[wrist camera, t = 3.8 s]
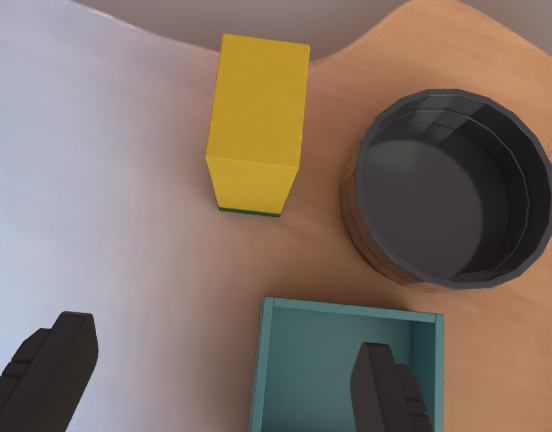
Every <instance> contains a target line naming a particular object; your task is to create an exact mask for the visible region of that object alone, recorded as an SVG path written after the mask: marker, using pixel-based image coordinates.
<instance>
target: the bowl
mask: <svg viewBox="0 0 552 432" xmlns="http://www.w3.org/2000/svg"><path fill="white" fill-rule="evenodd" d="M340 188H341V189H340V192H341V202H342V213H343V218H344V221H345V223H346V225H347V228H348V230H349V233H350V235H351V237H352V239H353V242H354V244H355V245H356V247H357V248H358V249H359V250H360V251H361V253H362V254H363V255H364V256H365V257H366V258H367V260H368V261H369V262H370V263H371V264H372V266H373V267H375V269H377V270H378V271H380V272H381V273H383V274H385V275H386V276H388V277H389V278H391V279H392V280H394V281H395V282H397V283H399V284H401V285H404V286H407V287H411V288H415V289H418V290H422V291H426V292H447V291H464V290H480V289H491V288H494V287H496V286H498V285H501V284H503V283H505V282H508V281H510V280H512V279H515V278H517V277H519V276H521V275H522V274H523V273H524V272H525V271H526V270H527V269H528V268H529V267H530V266H531V265H532V264H533V263H534V262H535V261H536V260H537V259H538V258H539V257H540V256H541V255H542V254H543V252H544V250H545V248H546V246H547V243H548V241H549V239H550V237H551V235H552V164H551V162H550V160H549V159H548V157H547V155H546V153H545V151H544V149H543V147H542V145H541V144H540V142H539V140H538V138H537V137H536V135H535V134H534V133H533V132H532V131H531V130H530V129H529V128H528V127H527V126H526V125H525V124H524V123H523V122H522V121H521V120H520V119H519V118H518V117H517V115H516V114H514V113H513V112H511V111H510V110H508V109H506V108H505V107H503V106H501V105H500V104H498V103H496V102H495V101H493V100H491V99H490V98H487V97H485V96H481V95H478V94H474V93H471V92H467V91H464V90H460V89H428V90H424V91H421V92H418V93H415V94H412V95H409V96H406V97H404V98H401V99H399V100H397V101H396V102H395V103H394V104H392V105H391V106H390V107H388V108H387V109H386V110H385V111H383V112H382V113H381V114H379V115H378V116H377V117H376V118H375V120H374V121H373V123H372V124H371V125H370V127H369V128H368V130H367V131H366V132H365V134H364V135H363V137H362V138H361V140H360V141H359V143H358V144H357V146H356V147H355V149H354V150H353V152H352V154H351V155H350V157H349V158H348V160H347V162H346V166H345V170H344V174H343V178H342V183H341V187H340Z"/></svg>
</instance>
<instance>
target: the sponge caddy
mask: <svg viewBox="0 0 552 432" xmlns="http://www.w3.org/2000/svg"><path fill="white" fill-rule="evenodd" d="M363 342H372V343H382V344H388V345H389V346H390V347H391V350H392V354H393V357H394V361H395V363H396V364H406V366H407V367H408V368H409V370H410V371H411V372H412V374H413V375H414V377H415V378H416V379H417V381H418V384H419V387H420V390H421V393H422V397H423V402H424V403H425V406H426V409H427V416H428V417H429V419H430V422H431V425H432V428H433V432H443V385H444V315H443V314H434V313H425V312H415V311H405V310H396V309H386V308H376V307H366V306H356V305H347V304H337V303H327V302H317V301H307V300H298V299H288V298H278V297H268V296H265V297H262V298H261V308H260V317H259V327H258V337H257V346H256V356H255V365H254V375H253V385H252V394H251V404H250V413H249V423H248V432H356V428H355V421H354V414H353V408H352V401H351V394H350V378H351V373H352V370H353V367H354V364H355V361H356V358H357V356H358V353H359V350H360V347H361V345H362V343H363Z"/></svg>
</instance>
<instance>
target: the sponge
mask: <svg viewBox="0 0 552 432" xmlns="http://www.w3.org/2000/svg"><path fill="white" fill-rule="evenodd" d="M309 53H310V45H305V44H298V43H291V42H283V41H276V40H268V39H261V38H254V37H246V36H239V35H231V34H223V37H222V45H221V51H220V58H219V65H218V72H217V78H216V85H215V92H214V99H213V106H212V113H211V120H210V127H209V134H208V141H207V148H206V154H205V157H206V161H207V165H208V169H209V172H210V176H211V180H212V184H213V187H214V191H215V195H216V198H217V202H218V206H219V210H220V211H228V212H237V213H246V214H255V215H264V216H272V217H280V214H281V212H282V209H283V207H284V204H285V202H286V199H287V197H288V194H289V192H290V189H291V187H292V184H293V182H294V179H295V177H296V174H297V172H298V169H299V163H300V152H301V141H302V130H303V119H304V108H305V97H306V86H307V75H308V64H309Z"/></svg>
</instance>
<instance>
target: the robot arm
mask: <svg viewBox="0 0 552 432" xmlns="http://www.w3.org/2000/svg"><path fill="white" fill-rule="evenodd" d="M97 358H98V342H97V336H96V330H95V324H94V318H93V315H92V314H91V313H81V312H70V311H64V312H62V313H61V314H60V315H59V317H58V318H57V320H56V322H55V323H54V325H53V326H52V328H51V329H46V328H40V329H39V330H37V331H36V332H35V333H34V334H32V335H31V336H30V337H29V338H27V339H26V340H25V341H24V342H23V343H22V344H21V346H20V347H19V349H18V350H17V352H16V353H15V354H14V356H13V357H12V360H11V362H9V363H8V365H7V366H6V368H5V369H4V371H3V372H2V376H0V432H65V431H66V429H67V427H68V425H69V423H70V421H71V418H72V416H73V414H74V412H75V410H76V408H77V405H78V403H79V401H80V399H81V397H82V395H83V392H84V390H85V388H86V386H87V384H88V382H89V379H90V377H91V375H92V373H93V371H94V368H95V366H96V362H97ZM350 394H351V401H352V408H353V414H354V421H355V428H356V432H433V428H432V425H431V422H430V419H429V417H428V416H427V409H426V406H425V403H424V402H423V397H422V393H421V390H420V387H419V384H418V381H417V379H416V378H415V377H414V375H413V374H412V372H411V371H410V370H409V368H408V367H407V366H406V364H396V363H395V361H394V357H393V354H392V350H391V347H390V346H389V345H388V344H382V343H372V342H363V343H362V345H361V347H360V350H359V353H358V356H357V358H356V361H355V364H354V367H353V370H352V373H351V378H350Z"/></svg>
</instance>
